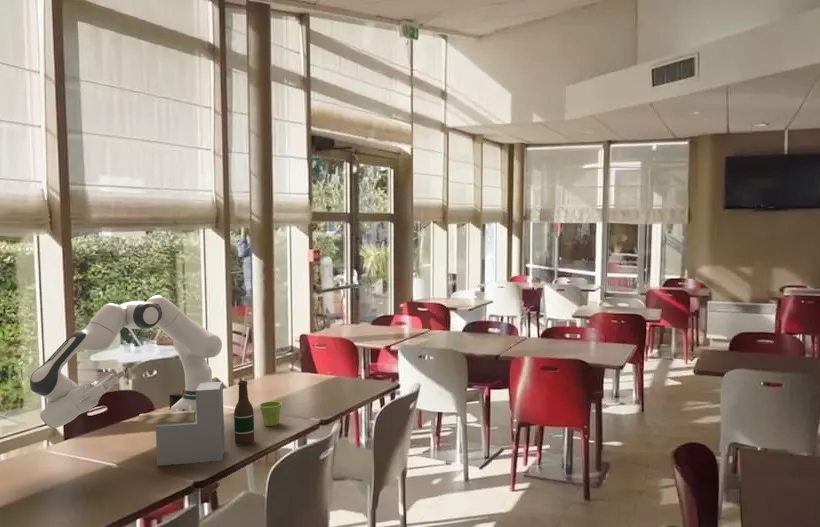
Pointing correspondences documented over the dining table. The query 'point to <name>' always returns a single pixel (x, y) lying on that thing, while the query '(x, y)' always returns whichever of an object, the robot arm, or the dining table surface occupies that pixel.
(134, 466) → the dining table surface
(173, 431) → the stand
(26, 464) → the dining table surface
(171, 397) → the beverage carton
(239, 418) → the beer bottle
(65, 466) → the dining table surface
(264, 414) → the plant pot
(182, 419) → the stick
